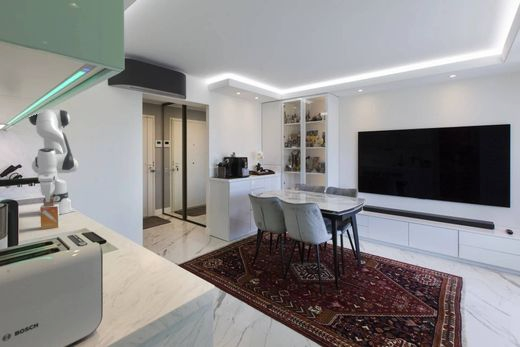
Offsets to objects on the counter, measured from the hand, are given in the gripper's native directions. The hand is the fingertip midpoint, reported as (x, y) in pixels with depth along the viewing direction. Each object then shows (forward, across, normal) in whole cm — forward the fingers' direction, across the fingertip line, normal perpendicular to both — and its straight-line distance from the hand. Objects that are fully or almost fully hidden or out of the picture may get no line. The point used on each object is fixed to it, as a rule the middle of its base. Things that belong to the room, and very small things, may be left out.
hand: (49, 200), depth 152 cm
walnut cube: (+3, 0, 0) cm, 3 cm away
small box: (+16, 0, 0) cm, 16 cm away
